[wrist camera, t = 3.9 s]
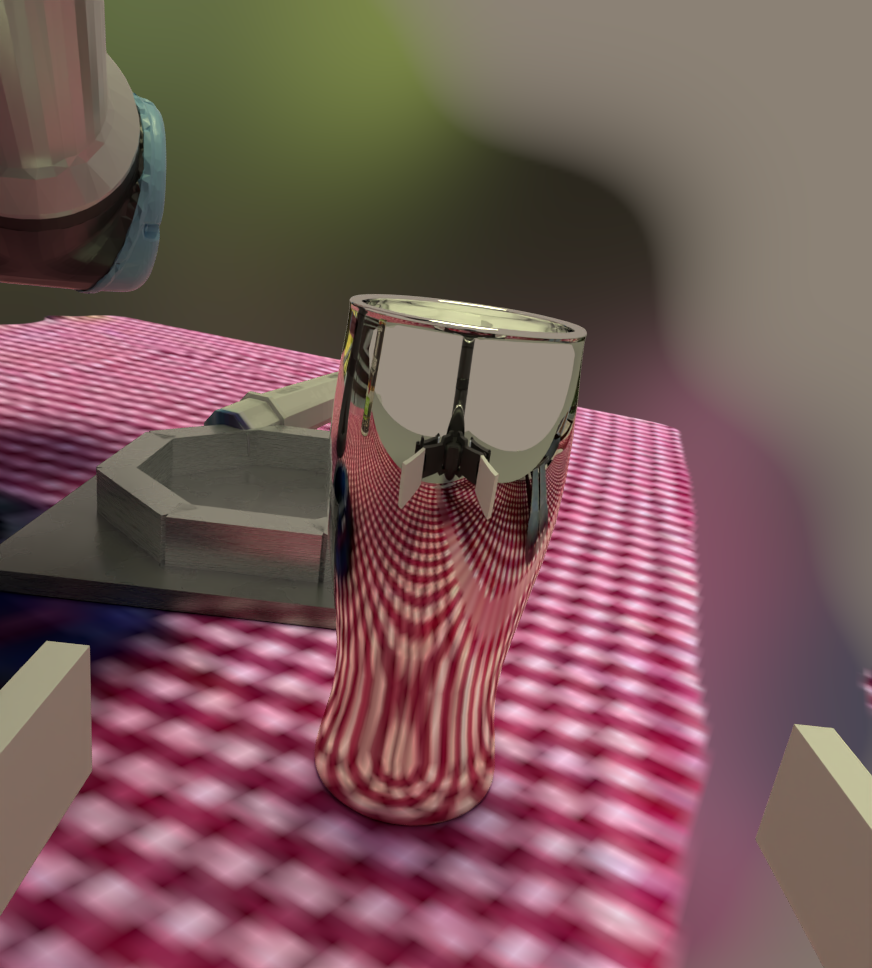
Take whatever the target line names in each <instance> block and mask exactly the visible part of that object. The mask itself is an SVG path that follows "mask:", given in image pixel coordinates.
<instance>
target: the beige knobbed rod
mask: <svg viewBox="0 0 872 968" xmlns="http://www.w3.org/2000/svg"><path fill="white" fill-rule="evenodd" d="M338 372H339V371H338ZM338 372H335V373H331V374H328V375H324V376H321V377H318V378H314V379H311V380H307V381H304V382H300V383H297V384H294V385H290V386H287V387H283V388H280V389H276V390H273V391H269V392H266V393H263V394H260V393H256V392H252V391H251V392H248V393H247V394H246V395H245V396H244V397H243V398H242V399H241V400H240V401H239V402H237V403H234V404H231V405H229V406H226V407H224V408H221V409H218V410H216V411H214V412H213V414H212V415H211V416H210V417H209V418H208V419H207V420H206V421H205V423H204V426H210V425H221V424H225V425H228V426H231V427H235V428H238V429H241V430H249V429H255V428H261V427H266V426H270V425H274V424H276V425H284V426H292V427H300V428H307V429H317V428H319V427H321V426H323V425H325V424H327V423H329V422H331V420H332V412H333V403H334V397H335V391H336V385H337V379H338ZM246 437H247V449H248V457H249V456H250V437H249V434H248V433H246Z"/></svg>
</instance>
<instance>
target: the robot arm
mask: <svg viewBox="0 0 872 968" xmlns="http://www.w3.org/2000/svg"><path fill="white" fill-rule="evenodd" d="M165 184H166V139H165V130H164V123H163V119H162V116H161V113H160V112H159V111H158V110H157V108H156V107H155V105H154V104H153V103H152V102H150V101H149V100H147V99H144V98H141V97H138V96H137V95H136V94H135V93H132V90H131V88H130V86H129V84H128V82H127V80H126V78H125V76H124V75H123V74H122V72H121V71H120V69H119V68H118V66H117V65H116V64H115V62H114V61H113V60H112V59H111V58H110V56H109V55H108V54H107V53H106V38H105V14H104V0H0V282H2V283H13V284H24V285H34V286H45V287H56V288H67V289H74V290H76V291H78V292H81V293H88V294H90V293H95V292H99V291H116V292H126V291H132V290H135V289H137V288H139V287H140V286H141V285H142V284H144V283H145V281H146V280H147V278H148V277H149V275H150V273H151V271H152V268H153V265H154V262H155V258H156V254H157V250H158V244H159V238H160V237H159V236H160V235H159V225H160V223H161V219H162V215H163V209H164V199H165ZM91 771H92V739H91V686H90V646H88V645H79V644H70V643H61V642H52V641H46V642H45V643H44V644H43V645H42V646H41V647H40V649H39V650H38V651H37V652H36V653H35V654H34V655H33V656H32V657H31V658H30V659H29V660H28V661H27V662H26V663H25V664H24V665H23V667H22V668H21V669H20V670H19V671H18V672H17V673H16V674H15V675H14V676H13V677H12V678H11V679H10V680H9V681H8V682H7V683H6V685H5V686H4V687H3V688H2V689H1V690H0V915H1V914H2V912H3V911H4V909H5V907H6V906H7V904H8V903H9V901H10V900H11V898H12V896H13V895H14V893H15V892H16V890H17V889H18V887H19V885H20V884H21V882H22V881H23V879H24V877H25V876H26V874H27V873H28V871H29V870H30V868H31V866H32V865H33V863H34V862H35V860H36V858H37V857H38V855H39V854H40V852H41V851H42V849H43V847H44V846H45V844H46V843H47V841H48V839H49V838H50V836H51V835H52V833H53V832H54V830H55V828H56V827H57V825H58V824H59V822H60V820H61V819H62V817H63V816H64V814H65V813H66V811H67V809H68V808H69V806H70V805H71V803H72V801H73V800H74V798H75V797H76V795H77V794H78V792H79V790H80V789H81V787H82V786H83V784H84V783H85V781H86V779H87V778H88V776H89V775H90V773H91ZM755 840H756V842H757V843H758V845H759V847H760V849H761V851H762V853H763V855H764V857H765V858H766V860H767V862H768V864H769V866H770V868H771V870H772V872H773V874H774V876H775V877H776V879H777V881H778V883H779V885H780V887H781V889H782V890H783V892H784V894H785V896H786V898H787V900H788V902H789V904H790V906H791V907H792V909H793V911H794V913H795V915H796V917H797V918H798V921H799V922H800V924H801V926H802V928H803V930H804V932H805V934H806V936H807V937H808V939H809V941H810V943H811V945H812V947H813V949H814V951H815V952H816V954H817V956H818V958H819V960H820V962H821V964H822V966H823V968H872V776H871V774H870V773H869V772H868V771H867V769H866V768H865V767H864V766H863V764H862V763H861V762H860V761H859V760H858V758H857V757H856V756H855V755H854V753H853V752H852V751H851V750H850V748H849V747H848V746H847V745H846V743H845V742H844V741H843V740H842V739H841V737H840V736H839V735H838V734H837V732H836V731H835V730H834V729H833V728H825V727H816V726H807V725H798V724H794V726H793V729H792V732H791V735H790V738H789V741H788V744H787V747H786V750H785V753H784V756H783V759H782V762H781V765H780V768H779V770H778V773H777V776H776V779H775V782H774V785H773V788H772V791H771V794H770V797H769V801H768V803H767V806H766V809H765V812H764V815H763V818H762V821H761V824H760V826H759V829H758V832H757V835H756V839H755Z"/></svg>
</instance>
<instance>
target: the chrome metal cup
mask: <svg viewBox="0 0 872 968" xmlns="http://www.w3.org/2000/svg"><path fill="white" fill-rule="evenodd" d="M349 303H350V308H349V316H348V322H347V328H346V334H345V340H344V345H343V350H342V356H341V361H340V366H339V372H338V379H337V385H336V391H335V397H334V403H333V412H332V420H331V428H330V436H329V446H328V463H327V481H326V498H327V527H328V541H329V553H330V565H331V576H332V586H333V596H334V606H335V619H336V634H337V651H336V667H335V674H334V680H333V685H332V689H331V693H330V697H329V700H328V703H327V706H326V709H325V712H324V715H323V718H322V721H321V725H320V728H319V731H318V735H317V739H316V744H315V752H314V756H315V764H316V768H317V772H318V774H319V776H320V778H321V780H322V782H323V784H324V785H325V786H326V788H327V789H328V790H329V791H330V792H331V793H332V794H333V795H334V796H335V797H336V798H337V799H338V800H339V801H341V802H342V803H343V804H345V805H346V806H348V807H349V808H351V809H353V810H354V811H356V812H358V813H360V814H362V815H364V816H367V817H369V818H372V819H375V820H379V821H382V822H386V823H392V824H398V825H412V826H415V825H430V824H436V823H441V822H445V821H448V820H451V819H454V818H456V817H459V816H461V815H463V814H465V813H466V812H468V811H470V810H471V809H472V808H474V807H475V806H476V805H477V804H478V803H479V802H480V801H481V800H482V799H483V798H484V796H485V795H486V793H487V792H488V790H489V788H490V786H491V783H492V780H493V776H494V770H495V730H494V713H495V700H496V693H497V686H498V682H499V678H500V674H501V671H502V667H503V663H504V660H505V658H506V655H507V652H508V650H509V647H510V644H511V641H512V639H513V636H514V633H515V631H516V628H517V626H518V624H519V621H520V619H521V616H522V614H523V611H524V609H525V606H526V604H527V601H528V599H529V596H530V594H531V591H532V588H533V586H534V583H535V581H536V578H537V576H538V573H539V571H540V568H541V565H542V563H543V560H544V557H545V554H546V551H547V548H548V545H549V542H550V539H551V536H552V533H553V530H554V527H555V524H556V520H557V516H558V512H559V508H560V503H561V499H562V495H563V491H564V486H565V482H566V478H567V472H568V466H569V460H570V454H571V448H572V442H573V435H574V427H575V419H576V411H577V403H578V393H579V383H580V373H581V364H582V355H583V349H584V342H585V338H586V335H587V332H586V330H585V329H584V328H582V327H580V326H578V325H575V324H572V323H569V322H566V321H562V320H559V319H555V318H551V317H546V316H542V315H537V314H533V313H528V312H522V311H517V310H511V309H506V308H500V307H494V306H487V305H481V304H474V303H467V302H460V301H453V300H444V299H435V298H426V297H416V296H403V295H385V294H365V295H357V296H353V297H351V298H350V301H349Z"/></svg>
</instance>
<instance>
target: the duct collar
mask: <svg viewBox="0 0 872 968" xmlns="http://www.w3.org/2000/svg"><path fill="white" fill-rule="evenodd" d="M246 433H248V434H249V437H250V456H249V457H248V449H247V437H246ZM329 436H330V431H323V430H315V429H307V428H300V427H292V426H284V425H276V424H274V425H270V426H266V427H261V428H255V429H249V430H241V429H238V428H235V427H231V426H228V425H225V424H221V425H210V426H199V427H189V428H178V429H167V430H156V431H149V432H145V433H144V434H143V435H141V436H140V437H138V438H137V439H135V440H134V441H133V442H131V443H130V444H128V445H127V446H125V447H124V448H123V449H121V450H120V451H118V452H117V453H115V454H114V455H113V456H111V457H110V458H108V459H107V460H105V461H104V462H103V463H101V464H100V465H98V466H97V467H96V475H95V476H94V477H93V478H91V479H90V480H88V481H87V482H86V483H84V484H83V485H81V486H80V487H79V488H77V489H76V490H75V491H73V492H72V493H70V494H69V495H68V496H66V497H65V498H63V499H62V500H61V501H59V502H58V503H57V504H55V505H54V506H52V507H51V508H50V509H48V510H47V511H46V512H44V513H43V514H41V515H40V516H39V517H37V518H36V519H34V520H33V521H32V522H30V523H29V524H28V525H26V526H25V527H23V528H22V529H21V530H19V531H18V532H17V533H15V534H14V535H12V536H11V537H10V538H8V539H7V540H5V541H4V542H3V543H1V544H0V591H4V592H13V593H22V594H31V595H40V596H48V597H57V598H66V599H75V600H84V601H93V602H101V603H110V604H119V605H128V606H137V607H145V608H154V609H163V610H172V611H181V612H190V613H198V614H207V615H216V616H225V617H234V618H242V619H251V620H260V621H269V622H278V623H286V624H295V625H304V626H313V627H322V628H331V629H336V619H335V606H334V596H333V586H332V576H331V565H330V553H329V541H328V527H327V498H326V481H327V463H328V446H329Z"/></svg>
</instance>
